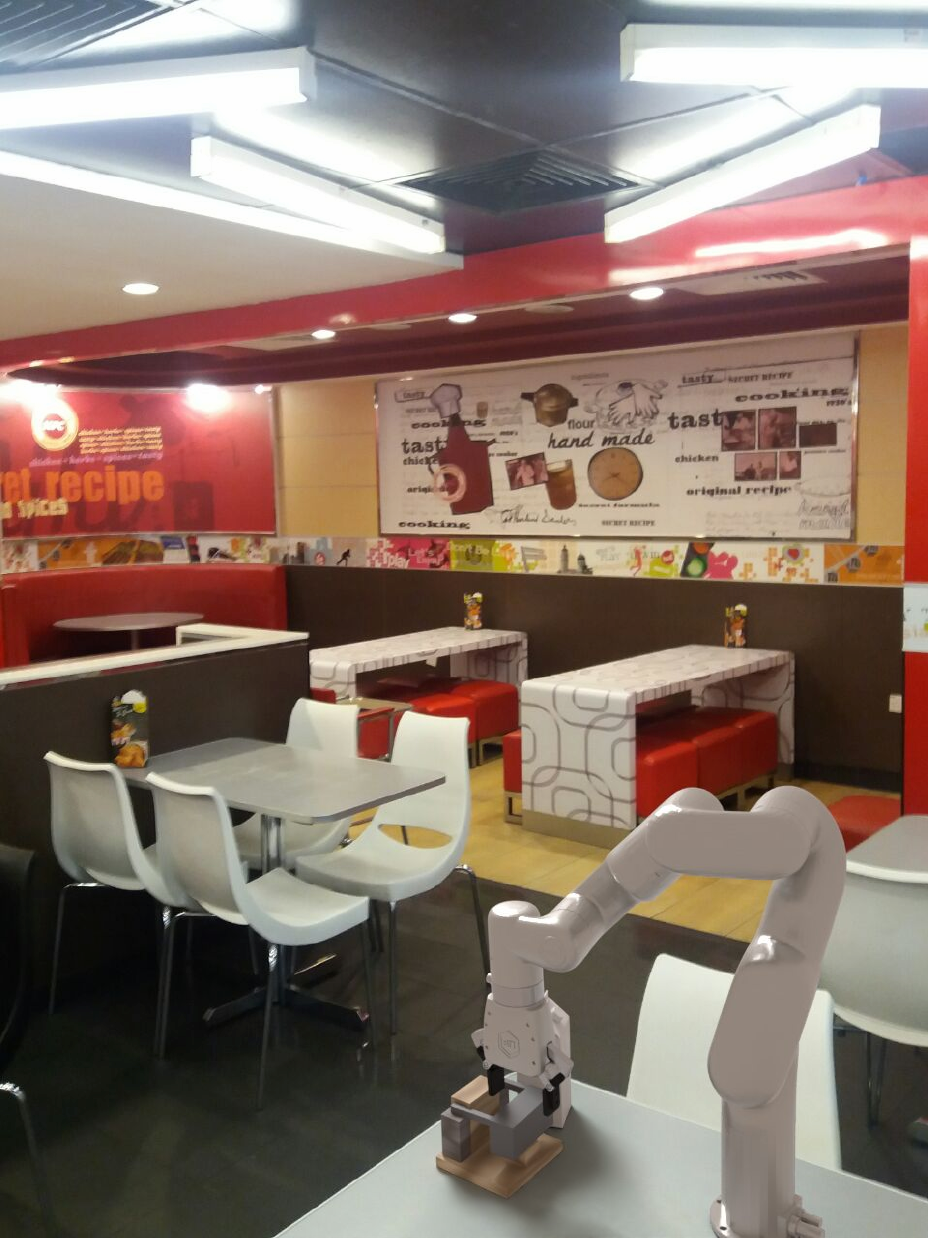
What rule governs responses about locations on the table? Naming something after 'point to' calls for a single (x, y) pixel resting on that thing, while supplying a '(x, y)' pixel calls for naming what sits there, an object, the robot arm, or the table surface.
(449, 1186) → the table surface
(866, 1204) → the table surface
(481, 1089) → the stacked wooden blocks
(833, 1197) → the table surface
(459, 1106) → the grey bracket
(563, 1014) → the milk carton
